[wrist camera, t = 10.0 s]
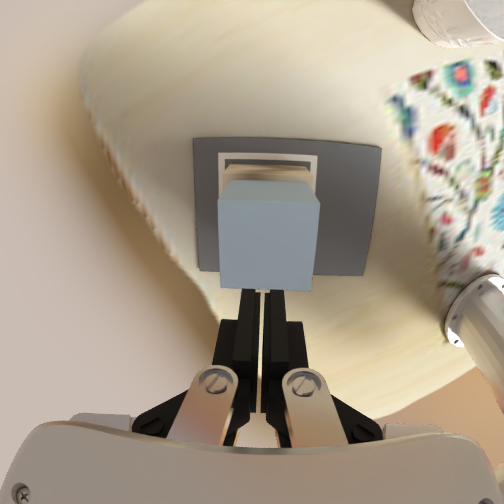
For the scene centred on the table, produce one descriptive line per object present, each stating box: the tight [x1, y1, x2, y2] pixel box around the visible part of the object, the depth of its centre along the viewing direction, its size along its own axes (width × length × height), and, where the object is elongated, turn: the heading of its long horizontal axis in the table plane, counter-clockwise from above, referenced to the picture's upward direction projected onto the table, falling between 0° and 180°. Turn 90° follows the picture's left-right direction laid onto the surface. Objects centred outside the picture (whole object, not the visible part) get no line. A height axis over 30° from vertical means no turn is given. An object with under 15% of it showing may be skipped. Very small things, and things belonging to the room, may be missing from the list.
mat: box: [193, 138, 382, 276], centre depth 29 cm, size 18×14×1 cm
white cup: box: [412, 0, 504, 48], centre depth 14 cm, size 8×8×10 cm
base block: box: [222, 164, 313, 190], centre depth 26 cm, size 7×7×5 cm
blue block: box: [218, 180, 320, 291], centre depth 21 cm, size 6×6×6 cm
